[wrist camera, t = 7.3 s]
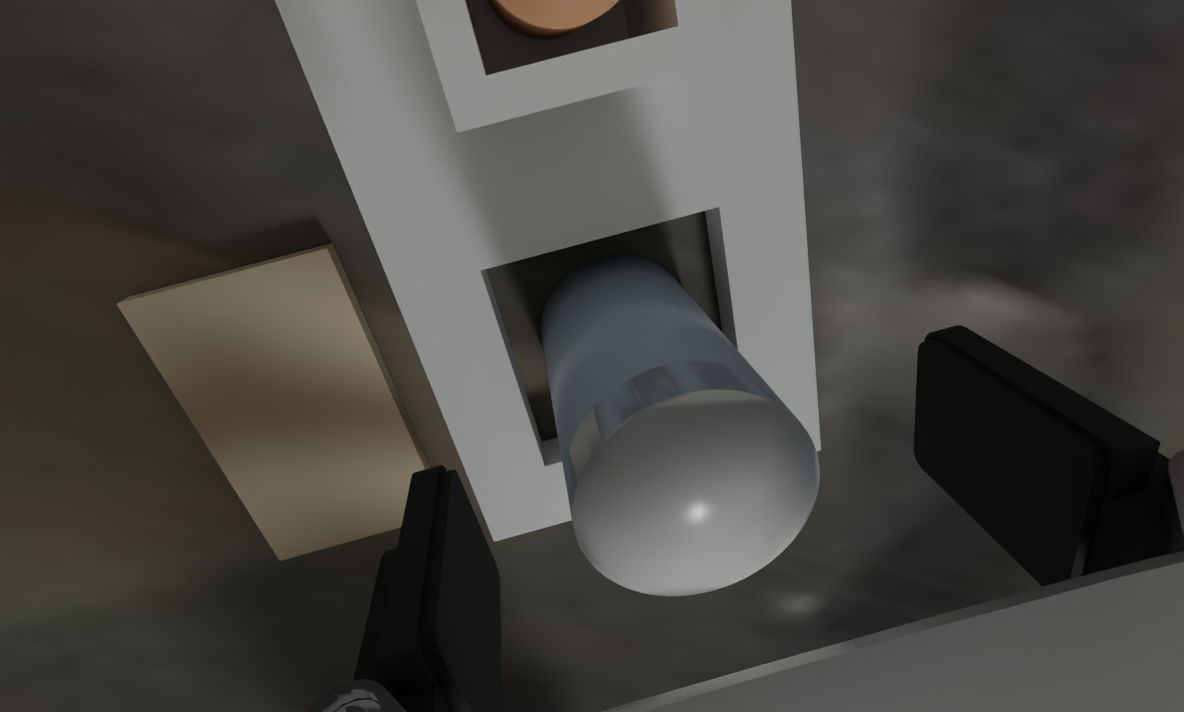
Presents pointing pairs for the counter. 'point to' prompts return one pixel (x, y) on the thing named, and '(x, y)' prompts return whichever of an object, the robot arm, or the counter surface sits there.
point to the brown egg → (548, 15)
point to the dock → (562, 186)
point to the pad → (287, 396)
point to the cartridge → (668, 435)
